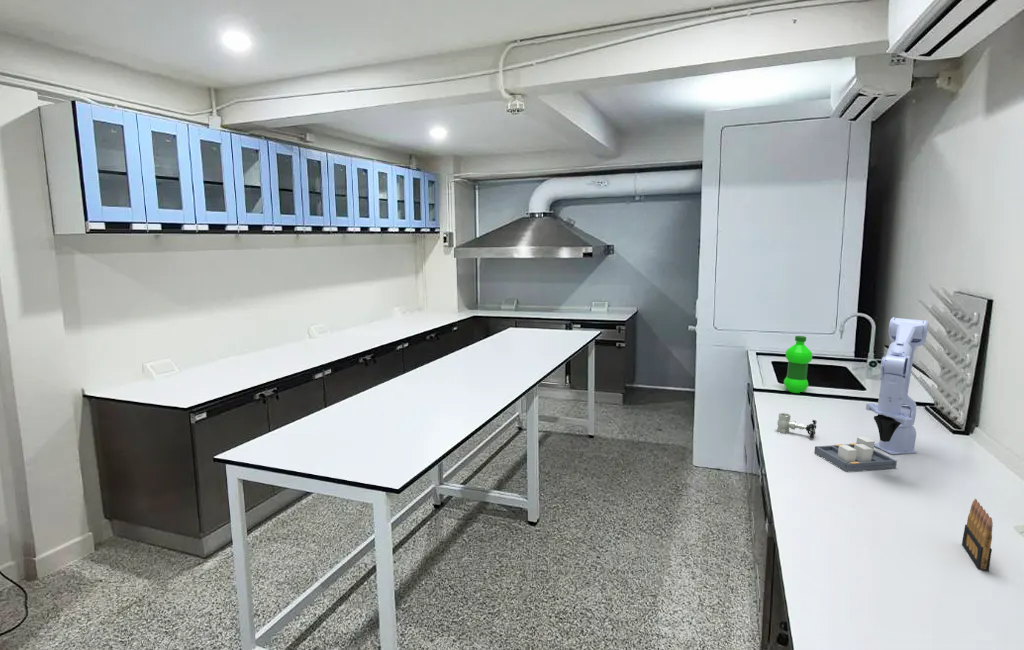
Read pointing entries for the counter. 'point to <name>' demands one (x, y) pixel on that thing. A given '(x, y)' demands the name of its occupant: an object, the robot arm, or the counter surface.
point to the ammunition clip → (978, 536)
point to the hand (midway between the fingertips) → (884, 440)
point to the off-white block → (863, 452)
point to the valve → (794, 425)
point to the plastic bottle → (797, 366)
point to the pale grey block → (866, 442)
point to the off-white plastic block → (847, 453)
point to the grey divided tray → (876, 461)
